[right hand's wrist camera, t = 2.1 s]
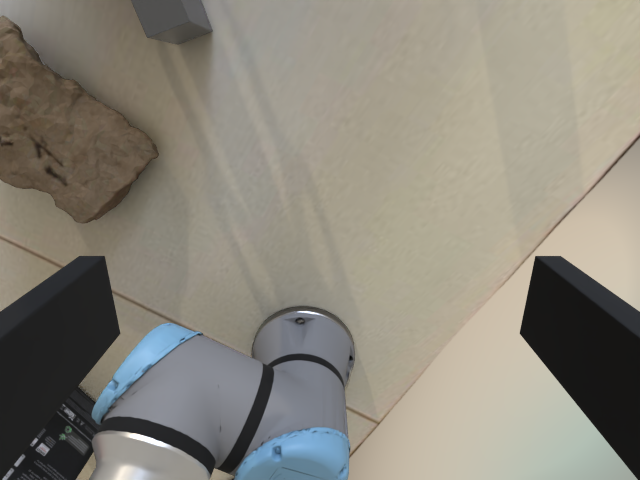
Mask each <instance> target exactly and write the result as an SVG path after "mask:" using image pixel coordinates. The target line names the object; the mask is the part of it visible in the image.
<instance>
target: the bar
mask: <svg viewBox="0 0 640 480" xmlns="http://www.w3.org/2000/svg"><path fill="white" fill-rule="evenodd" d="M131 1H132V3H133V6H134V8H135V10H136V13H137V15H138V17H139V20H140V22H141V24H142V26H143V29H144V31H145V33H146V36H147V38H151V39H156V40H160V41H164V42H169V43H173V44H181V43H183V42H186V41H188V40H191V39H194V38H196V37H199V36H202V35H204V34H207V33H210V32H212V31H213V30H212V28H211V25H210V22H209V20H208V17H207V14H206V12H205V9H204V6H203V4H202V1H201V0H131Z"/></svg>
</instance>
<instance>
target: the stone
mask: <svg viewBox="0 0 640 480" xmlns="http://www.w3.org/2000/svg"><path fill="white" fill-rule="evenodd" d="M157 157H158V151H157V147H156V145H155V144H153V143H152V140H151V139H150V138H149V137H148V136H147V134H145V133H144V132H142V131H141V130H139V129H137V128H134V127H132V126H130V124H129V122H128V121H127V120H126V119H125V118H124V117H123V115H122V114H120V113H119V112H117V111H115V110H113V109H110V108H108V107H107V106H106V105H104V104H103V103H101V102H99V101H97V100H96V99H95V98H94V97H92V96H90V95H89V94H87V92H86V91H85V90H84V89H83V88H82V87H81V86H80V85H79V83H78V82H77V81H75V80H67V79H63V78H61V76H60V75H59V74H57V73H55V72H53V71H52V70H51V69H50V68H49V67H48V66H46V65H43V64H42V63H41V60H40V58H39V55H38V53H37V52H36V51H35V50H34V48H33V47H32V46H30V45H29V44H28V43H27V42H25V40H24V39H23V35H22V31H21V29H20V27H19V26H17V25H16V24H15V23H13V22H12V21H10V20H9V19H8V18H7V17H5V16H1V17H0V179H1V180H2V181H4V182H5V183H8V184H10V185H12V186H14V187H17V188H22V189H28V188H33V189H37V190H39V191H43V192H47V193H49V194H51V195H52V197H53V199H54V201H55V205H56V207H58V208H60V209H62V210H64V211H66V212H67V213H68V214H69V215H71V216H72V217H73V219H74V220H75V221H76V222H79V223H88V222H90V221H92V220H94V219H95V220H97V219H99V218H100V217H101V216H103V215H104V214H105V213H107V212H108V211H109V210H111V209H112V208H114V207H116V206H117V205H118V204H119V203H120V202H121V200H122V199H123V198H124V197H125V196H126V195H127V193H128V192H129V189H130V186H131V184H132V182H133V181H135V180H136V179H138V176H139V174H140V173H141V172H142V171H143V170H144V169H145V167H146V165H147V164H148V163H149V162H150V161H151V160H152V159H155V158H157Z"/></svg>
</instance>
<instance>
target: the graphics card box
mask: <svg viewBox="0 0 640 480" xmlns="http://www.w3.org/2000/svg"><path fill="white" fill-rule="evenodd" d="M95 404H96V403H95V402H94V401H93V400H91V399H90V398H89V397H88V396H87V395H86V394H85V393H84V392H83V391H82V390H80V389H79V388H78V387H77V388H76V389H75V390H74V391H73V393H72V394H71V395H70V396H69V397H68V399H67V400H66V401H65V402H64V404H63V405H62V406H61V407H60V409H59V410H58V411H57V412H56V414H55V415H54V416H53V417H52V418H51V420H50V421H49V422H48V423H47V425H46V426H45V427H44V428H43V430H42V431H41V432H40V433H39V435H38V436H37V437H36V438H35V440H34V441H33V442H32V443H31V444H30V446H29V447H28V448H27V449H26V451H25V452H24V453H23V454H22V456H21V457H20V458H19V459H18V461H17V462H16V463H15V464H14V465H13V467H12V468H11V469H10V470H9V472H8V473H7V474H6V475H5V477H4V478H3V479H2V480H76V478H77V477H78V475H79V473H80V472H81V470H82V469H83V467H84V466H85V464H86V463H87V461H88V460H89V458H90V456H91V455H92V453H93V452H94V450H93V446H92V440H93V438H94V436H95V434H96V433H97V431H98V429H99V428H100V426H101V425H99V424H97V423H96V421H95V420H94V419H93V418H92V411H93V408H94V405H95Z"/></svg>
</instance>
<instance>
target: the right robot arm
mask: <svg viewBox="0 0 640 480" xmlns="http://www.w3.org/2000/svg"><path fill="white" fill-rule="evenodd" d="M119 334H120V330H119V325H118V320H117V315H116V310H115V305H114V300H113V295H112V290H111V285H110V281H109V276H108V271H107V266H106V261H105V256H79V257H77V258H76V259H75V260H73V261H72V262H70V263H69V264H68V265H66V266H65V267H63V268H62V269H60V270H59V271H58V272H56V273H55V274H53V275H52V276H51V277H49V278H48V279H46V280H45V281H43V282H42V283H41V284H39V285H38V286H36V287H35V288H34V289H32V290H31V291H29V292H28V293H26V294H25V295H24V296H22V297H21V298H19V299H18V300H16V301H15V302H14V303H12V304H11V305H9V306H8V307H7V308H5V309H4V310H2V311H1V312H0V480H2V479H3V478H4V477H5V475H6V474H7V473H8V472H9V470H10V469H11V468H12V467H13V465H14V464H15V463H16V462H17V461H18V459H19V458H20V457H21V456H22V454H23V453H24V452H25V451H26V449H27V448H28V447H29V446H30V444H31V443H32V442H33V441H34V440H35V438H36V437H37V436H38V435H39V433H40V432H41V431H42V430H43V428H44V427H45V426H46V425H47V423H48V422H49V421H50V420H51V418H52V417H53V416H54V415H55V414H56V412H57V411H58V410H59V409H60V407H61V406H62V405H63V404H64V402H65V401H66V400H67V399H68V397H69V396H70V395H71V394H72V393H73V391H74V390H75V389H76V388H77V386H78V385H79V384H80V383H81V381H82V380H83V379H84V378H85V376H86V375H87V374H88V373H89V372H90V370H91V369H92V368H93V367H94V365H95V364H96V363H97V362H98V360H99V359H100V358H101V357H102V355H103V354H104V353H105V352H106V351H107V349H108V348H109V347H110V346H111V344H112V343H113V342H114V341H115V339H116V338H117V337H118V336H119ZM520 334H521V336H522V337H523V338H524V339H525V341H526V342H527V343H528V344H529V346H530V347H531V348H532V349H533V351H534V352H535V353H536V354H537V355H538V357H539V358H540V359H541V360H542V362H543V363H544V364H545V365H546V367H547V368H548V369H549V370H550V372H551V373H552V374H553V375H554V376H555V378H556V379H557V380H558V381H559V383H560V384H561V385H562V386H563V388H564V389H565V390H566V391H567V393H568V394H569V395H570V396H571V397H572V399H573V400H574V401H575V402H576V404H577V405H578V406H579V407H580V409H581V410H582V411H583V412H584V414H585V415H586V416H587V417H588V418H589V420H590V421H591V422H592V423H593V425H594V426H595V427H596V428H597V430H598V431H599V432H600V433H601V435H602V436H603V437H604V438H605V440H606V441H607V442H608V443H609V444H610V446H611V447H612V448H613V449H614V451H615V452H616V453H617V454H618V456H619V457H620V458H621V459H622V460H623V462H624V463H625V464H626V465H627V467H628V468H629V469H630V470H631V472H632V473H633V474H634V475H635V477H636V478H637V479H638V480H640V312H639V311H638V310H636V309H635V308H633V307H632V306H631V305H629V304H628V303H626V302H625V301H624V300H622V299H621V298H619V297H618V296H616V295H615V294H613V293H612V292H611V291H609V290H608V289H606V288H605V287H604V286H602V285H601V284H599V283H598V282H597V281H595V280H594V279H592V278H591V277H589V276H588V275H587V274H585V273H584V272H582V271H581V270H580V269H578V268H577V267H575V266H574V265H572V264H571V263H570V262H568V261H567V260H565V259H564V258H562V257H561V256H536V257H535V261H534V266H533V271H532V276H531V281H530V285H529V290H528V295H527V300H526V305H525V310H524V315H523V320H522V325H521V330H520ZM354 360H355V351H354V343H353V339H352V336H351V334H350V332H349V330H348V328H347V327H346V326H345V324H344V323H343V322H342V321H341V320H340V319H339V318H337V317H336V316H334V315H333V314H331V313H329V312H327V311H325V310H322V309H319V308H315V307H307V306H299V307H291V308H287V309H284V310H281V311H279V312H277V313H275V314H273V315H272V316H270V317H269V318H268V319H267V320H265V321H264V323H263V324H262V325H261V326H260V328H259V329H258V331H257V333H256V336H255V339H254V343H253V347H252V358H251V357H249V356H247V355H245V354H242V353H240V352H238V351H236V350H234V349H232V348H229V347H227V346H225V345H223V344H221V343H218V342H216V341H214V340H212V339H210V338H208V337H205V336H203V333H201V332H198V331H197V332H193V331H191V330H188V329H186V328H184V327H181V326H179V325H176V324H172V323H166V324H162V325H159V326H158V327H156V328H154V329H153V330H152V331H150V332H149V333H148V334H147V335H146V336H145V337H144V338H143V339H142V340H141V341H140V342H139V344H138V345H137V346H136V347H135V348H134V349H133V351H132V352H131V353H130V354H129V355H128V357H127V358H126V359H125V360H124V362H123V363H122V364H121V366H120V367H119V368H118V370H117V371H116V373H115V374H114V375H113V378H112V381H110V382H109V384H108V385H107V386H106V388H105V389H104V390H103V392H102V393H101V395H100V396H99V398H98V400H97V402H96V404H95V405H94V408H93V411H92V418H93V419H94V420H95V421H96V423H97V424H99V425H101V426H100V428H99V429H98V431H97V433H96V434H95V436H94V438H93V440H92V446H93V450H94V454H95V459H96V468H95V470H94V472H93V473H92V475H91V477H90V479H89V480H210V477H211V475H212V472H213V469H214V468H216V469H218V470H221V471H223V472H226V473H228V474H231V475H233V476H235V478H234V479H232V480H347V479H348V474H349V452H350V443H349V440H348V428H347V415H346V401H345V386H346V384H347V386H348V383H349V380H350V375H351V371H352V368H353V365H354ZM347 381H348V383H347Z"/></svg>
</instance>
